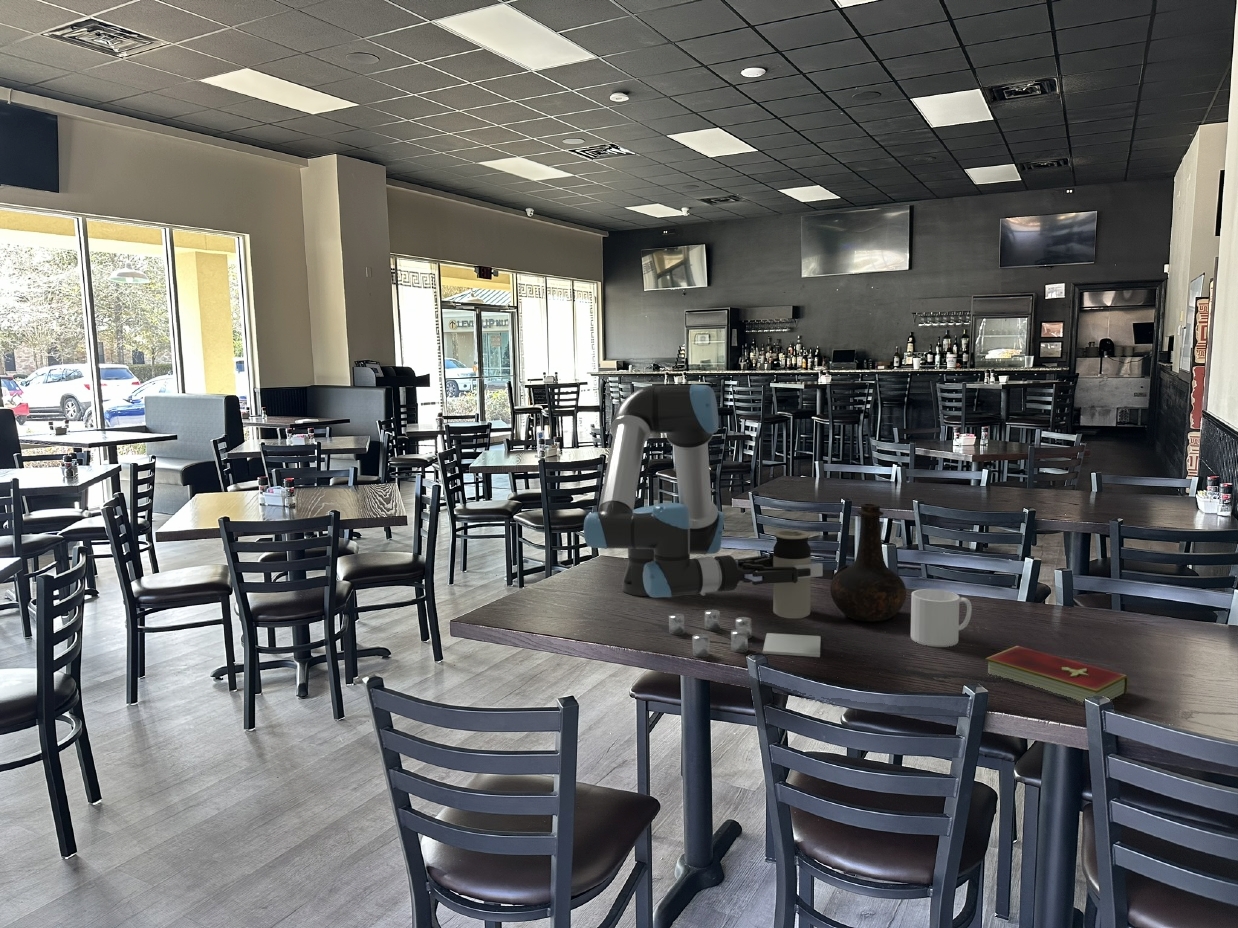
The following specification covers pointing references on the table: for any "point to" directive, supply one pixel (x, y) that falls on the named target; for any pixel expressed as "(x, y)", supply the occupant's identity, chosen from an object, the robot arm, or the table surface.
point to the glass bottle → (868, 576)
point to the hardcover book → (1057, 674)
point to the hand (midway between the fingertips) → (811, 565)
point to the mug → (937, 617)
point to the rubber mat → (792, 645)
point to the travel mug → (792, 596)
